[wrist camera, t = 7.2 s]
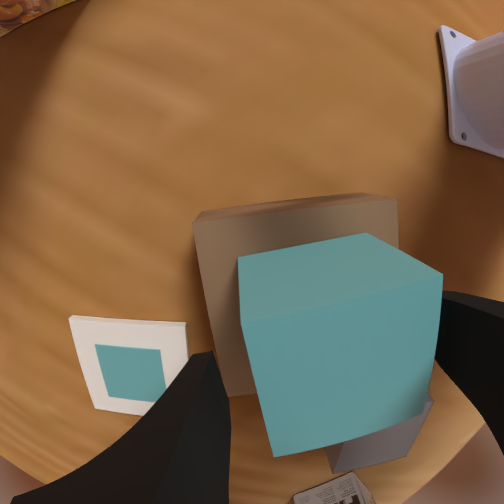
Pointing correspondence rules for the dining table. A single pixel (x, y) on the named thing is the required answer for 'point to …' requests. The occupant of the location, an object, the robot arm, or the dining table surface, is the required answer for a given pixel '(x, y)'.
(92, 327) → the card
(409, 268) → the teal cube
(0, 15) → the candy box
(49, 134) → the dining table surface
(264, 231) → the walnut block
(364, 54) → the dining table surface
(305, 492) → the coffee box
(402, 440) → the charcoal cube
